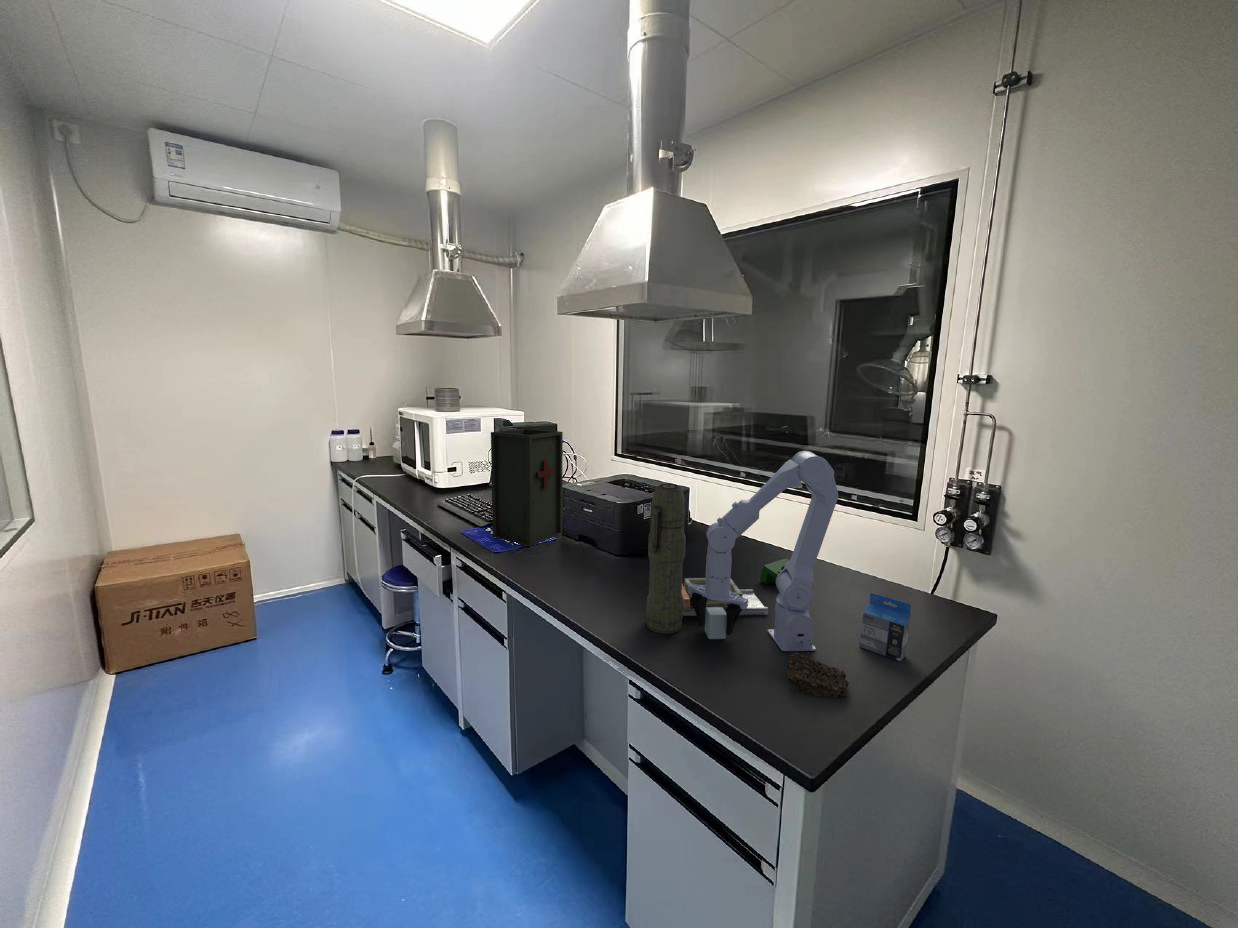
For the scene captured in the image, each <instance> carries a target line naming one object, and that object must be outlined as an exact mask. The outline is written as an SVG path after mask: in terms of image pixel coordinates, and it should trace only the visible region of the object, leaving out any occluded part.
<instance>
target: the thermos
mask: <svg viewBox="0 0 1238 928" xmlns="http://www.w3.org/2000/svg"><path fill="white" fill-rule="evenodd" d="M651 498H652V501H651V508H652V509H651V511H650V514H649V516H650V518H649V533H648V547H647V549H648V550H647V552H648V553H647V554H648V555H647V556H648V558H649V575H648V577H649V579H648V581H649V582H648V595H647V597H646V602H645V603H646V606H645V607H646V608H645V609H646V610H645V615H646V623H645V624H646V627H647V628H648V630H650V631H651V632H654V633H657V634H661V635H662V634H663V635H665V634H667V635H669V634H674V633H677V632H679V631H681V629H682V628H683V627H682V626H683V624H682V623H683V621H682V620H683V617H684V615H683V599H682V596H681V593H682V584H683V566H684V565H683V564H684V560H685V558H686V541H687V538H686V537H687V535H686V534H685V522H686V521H685V520H686V519H685V518H686V517H685V516H686V515H685V514H686V507H685V506H686V505H685V502H686V499H685V494H684V490H683V488H682V487H681V486H680V485H678V484H675V483H674V484H673V483H661V484H659V485H657V486H656V487H655V489H654V491H653V495H652V497H651Z"/></svg>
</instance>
